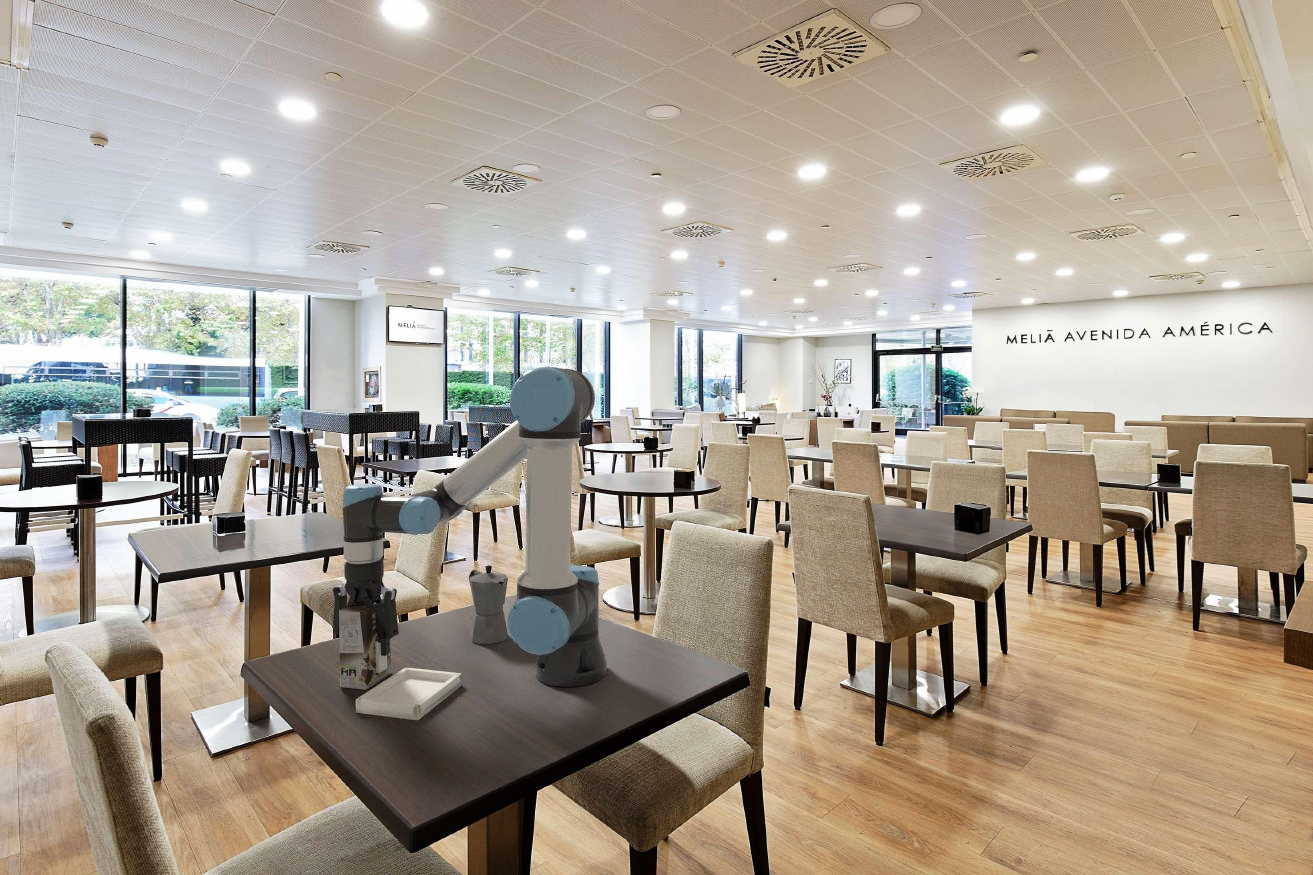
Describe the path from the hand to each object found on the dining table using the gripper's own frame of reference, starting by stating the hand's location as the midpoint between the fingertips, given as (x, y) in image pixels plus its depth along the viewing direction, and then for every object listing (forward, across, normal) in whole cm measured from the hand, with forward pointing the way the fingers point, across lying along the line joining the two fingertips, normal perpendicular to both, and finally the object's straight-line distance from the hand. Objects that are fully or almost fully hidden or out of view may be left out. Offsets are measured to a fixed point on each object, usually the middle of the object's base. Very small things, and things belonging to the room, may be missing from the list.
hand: (366, 668), depth 147 cm
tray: (+2, -14, +6) cm, 15 cm away
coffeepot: (+3, -12, -30) cm, 32 cm away
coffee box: (+3, 0, 0) cm, 3 cm away
